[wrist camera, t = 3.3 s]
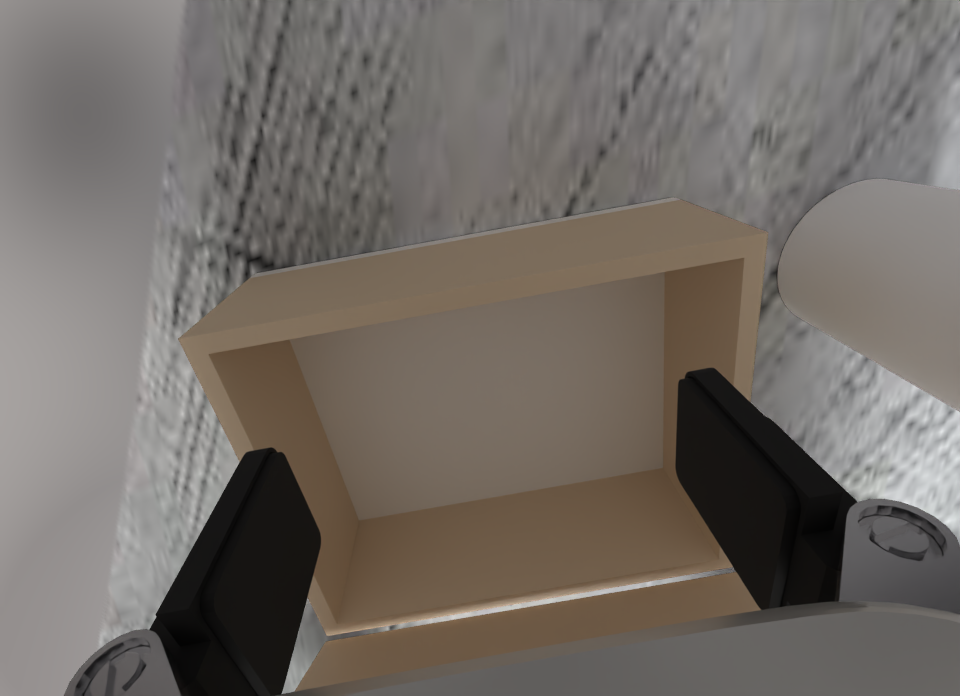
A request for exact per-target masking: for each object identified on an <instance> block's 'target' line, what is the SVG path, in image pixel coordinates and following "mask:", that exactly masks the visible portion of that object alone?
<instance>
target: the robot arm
mask: <svg viewBox="0 0 960 696" xmlns="http://www.w3.org/2000/svg"><path fill="white" fill-rule="evenodd" d="M675 469H676V474H677V477H678V480H679V482H680V484H681V485H682V487H683V488H684V490H685V491H686V493H687V495H688V496H689V498H690V499H691V501H692V503H693V504H694V506H695V507H696V509H697V510H698V512H699V514H700V515H701V517H702V518H703V520H704V522H705V523H706V525H707V526H708V528H709V529H710V531H711V533H712V534H713V536H714V537H715V539H716V541H717V542H718V544H719V545H720V547H721V548H722V550H723V552H724V553H725V555H726V556H727V558H728V560H729V561H730V563H731V564H732V566H733V567H734V569H735V571H736V572H737V574H738V575H739V577H740V578H741V580H742V582H743V583H744V585H745V586H746V588H747V590H748V591H749V593H750V594H751V596H752V597H753V599H754V601H755V602H756V604H757V605H758V607H759V608H760V609H761V610H758V611H752V612H745V613H739V614H732V615H726V616H719V617H713V618H706V619H700V620H694V621H689V622H683V623H677V624H671V625H665V626H659V627H654V628H648V629H642V630H636V631H630V632H624V633H619V634H613V635H607V636H601V637H595V638H589V639H584V640H578V641H572V642H566V643H561V644H555V645H549V646H544V647H538V648H532V649H527V650H521V651H515V652H510V653H504V654H498V655H493V656H487V657H482V658H476V659H470V660H465V661H459V662H454V663H448V664H442V665H437V666H431V667H426V668H420V669H415V670H409V671H404V672H398V673H393V674H387V675H382V676H376V677H371V678H366V679H360V680H355V681H349V682H344V683H338V684H333V685H327V686H322V687H316V688H311V689H306V690H301V691H296V692H291V693H286V694H281V693H282V691H283V687H284V684H285V680H286V676H287V672H288V669H289V665H290V661H291V657H292V653H293V650H294V646H295V642H296V638H297V635H298V631H299V627H300V623H301V620H302V616H303V612H304V608H305V604H306V601H307V597H308V593H309V589H310V586H311V582H312V578H313V574H314V570H315V567H316V563H317V559H318V555H319V552H320V548H321V534H320V531H319V528H318V526H317V524H316V522H315V519H314V517H313V515H312V513H311V511H310V508H309V506H308V504H307V502H306V500H305V497H304V495H303V493H302V491H301V489H300V486H299V484H298V482H297V480H296V478H295V476H294V473H293V471H292V469H291V467H290V465H289V462H288V460H287V458H286V456H285V454H284V453H283V452H277V451H276V450H275V449H274V448H272V447H270V448H264V449H259V450H253V451H248V452H246V453H245V454H244V456H243V457H242V459H241V461H240V463H239V465H238V466H237V468H236V470H235V472H234V474H233V475H232V477H231V479H230V481H229V483H228V484H227V486H226V488H225V490H224V492H223V494H222V495H221V497H220V499H219V501H218V503H217V504H216V506H215V508H214V510H213V512H212V513H211V515H210V517H209V519H208V521H207V523H206V524H205V526H204V528H203V530H202V532H201V533H200V535H199V537H198V539H197V541H196V542H195V544H194V546H193V548H192V550H191V552H190V553H189V555H188V557H187V559H186V561H185V562H184V564H183V566H182V568H181V570H180V571H179V573H178V575H177V577H176V579H175V581H174V582H173V584H172V586H171V588H170V590H169V591H168V593H167V595H166V597H165V599H164V600H163V602H162V604H161V606H160V608H159V610H158V611H157V613H156V616H157V617H156V619H155V621H154V622H153V624H152V626H151V628H150V630H147V629H143V630H134V631H131V632H129V633H126V634H123V635H121V636H119V637H117V638H115V639H114V640H112V641H110V642H108V643H107V644H105V645H104V646H103V647H102V648H100V649H99V650H98V651H97V652H95V653H94V654H93V655H92V656H91V657H90V658H89V659H88V660H87V661H86V662H85V663H84V664H83V665H82V666H81V668H79V670H78V671H77V673H76V674H75V675H74V677H73V678H72V680H71V681H70V683H69V685H68V687H67V689H66V692H65V694H64V696H960V545H959V542H958V540H957V537H956V536H955V535H954V534H953V533H952V532H951V530H950V529H949V528H948V527H947V526H946V525H945V524H943V523H942V522H941V521H939V520H938V519H937V518H935V517H934V516H932V515H930V514H929V513H927V512H925V511H923V510H921V509H919V508H917V507H914V506H911V505H908V504H905V503H902V502H899V501H893V500H887V499H867V500H863V501H860V502H857V501H856V500H855V499H854V498H853V497H852V496H851V495H850V494H849V493H848V492H847V491H845V490H844V489H843V488H842V487H841V486H840V485H839V484H838V483H837V482H836V481H835V480H834V479H833V478H832V477H831V476H830V475H829V474H828V473H827V472H826V471H825V470H824V469H822V468H821V467H820V466H819V465H818V464H817V463H816V462H815V461H814V460H813V459H812V458H811V457H810V456H809V455H808V454H807V453H806V452H805V451H804V450H803V449H802V448H801V447H799V446H798V445H797V444H796V443H795V442H794V441H793V440H792V439H791V438H790V437H789V436H788V435H787V434H786V433H785V432H784V431H783V430H782V429H781V428H780V427H779V426H778V425H777V424H775V423H774V422H773V421H772V420H771V419H769V418H767V417H765V416H764V415H763V414H762V413H761V412H760V411H759V410H758V409H757V408H756V407H755V406H754V405H753V404H752V403H751V402H749V401H748V400H747V399H746V398H745V397H744V396H743V395H742V394H741V393H740V392H739V391H738V390H737V389H736V388H735V387H734V386H733V385H732V384H731V383H730V382H729V381H728V380H727V379H726V378H725V377H724V376H723V375H722V374H721V373H719V372H718V371H717V370H716V369H715V368H705V369H700V370H694V371H689V372H687V373H686V375H685V379H680V380H679V382H678V401H677V430H676V460H675Z"/></svg>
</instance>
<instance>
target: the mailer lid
mask: <svg viewBox="0 0 960 696" xmlns="http://www.w3.org/2000/svg"><path fill="white" fill-rule="evenodd" d="M758 610H761V609H760V608H759V607H758V605H757V604H756V602H755V601H754V599H753V597H752V596H751V594H750V593H749V591H748V590H747V588H746V586H745V585H744V583H743V582H742V580H741V578H740V577H739V575H738V574H737V572H733V573H727V574H721V575H715V576H710V577H704V578H698V579H692V580H686V581H680V582H674V583H668V584H662V585H656V586H651V587H645V588H639V589H633V590H627V591H621V592H615V593H609V594H603V595H597V596H592V597H586V598H580V599H574V600H568V601H562V602H556V603H550V604H544V605H538V606H533V607H527V608H521V609H515V610H509V611H503V612H497V613H491V614H485V615H480V616H474V617H468V618H462V619H456V620H450V621H444V622H438V623H432V624H426V625H421V626H415V627H409V628H403V629H397V630H391V631H385V632H379V633H373V634H367V635H362V636H356V637H350V638H344V639H338V640H332V641H326V642H325V644H324V645H323V647H322V648H321V650H320V652H319V653H318V655H317V656H316V658H315V660H314V661H313V663H312V664H311V666H310V668H309V669H308V671H307V672H306V674H305V676H304V677H303V679H302V680H301V682H300V684H299V685H298V687H297V688H296V690H295V692H296V691H301V690H306V689H311V688H316V687H322V686H327V685H333V684H338V683H344V682H349V681H355V680H360V679H366V678H371V677H376V676H382V675H387V674H393V673H398V672H404V671H409V670H415V669H420V668H426V667H431V666H437V665H442V664H448V663H454V662H459V661H465V660H470V659H476V658H482V657H487V656H493V655H498V654H504V653H510V652H515V651H521V650H527V649H532V648H538V647H544V646H549V645H555V644H561V643H566V642H572V641H578V640H584V639H589V638H595V637H601V636H607V635H613V634H619V633H624V632H630V631H636V630H642V629H648V628H654V627H659V626H665V625H671V624H677V623H683V622H689V621H694V620H700V619H706V618H713V617H719V616H726V615H732V614H739V613H745V612H752V611H758Z"/></svg>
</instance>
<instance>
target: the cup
mask: <svg viewBox="0 0 960 696" xmlns="http://www.w3.org/2000/svg"><path fill="white" fill-rule="evenodd" d="M777 281H778V288H779V293H780V296H781V298H782V300H783V302H784V304H785V305H786V307H787V308H788V309H789V310H790V311H791V312H792V313H793V314H794V315H795V316H797V317H799V318H800V319H802V320H804V321H805V322H807V323H809V324H810V325H812V326H814V327H816V328H817V329H819V330H821V331H822V332H824V333H826V334H827V335H829V336H831V337H833V338H834V339H836V340H838V341H839V342H841V343H843V344H845V345H846V346H848V347H850V348H851V349H853V350H855V351H857V352H858V353H860V354H862V355H863V356H865V357H867V358H869V359H870V360H872V361H874V362H875V363H877V364H879V365H881V366H882V367H884V368H886V369H887V370H889V371H891V372H892V373H894V374H896V375H898V376H899V377H901V378H903V379H904V380H906V381H908V382H910V383H911V384H913V385H915V386H916V387H918V388H920V389H922V390H923V391H925V392H927V393H928V394H930V395H932V396H934V397H935V398H937V399H939V400H940V401H942V402H944V403H946V404H947V405H949V406H951V407H952V408H954V409H956V410H957V411H959V412H960V190H954V189H948V188H941V187H935V186H928V185H922V184H915V183H909V182H902V181H896V180H889V179H869V180H863V181H859V182H855V183H852V184H850V185H847V186H845V187H843V188H840V189H838V190H837V191H835V192H833V193H831V194H830V195H828V196H827V197H825V198H824V199H822V200H821V201H820V202H819V203H817V204H816V205H815V206H814V207H813V208H812V209H810V210H809V211H808V213H807V214H806V215H805V216H804V217H803V218H802V219H801V220H800V222H799V223H798V224H797V225H796V227H795V228H794V230H793V231H792V233H791V234H790V236H789V238H788V240H787V242H786V244H785V246H784V248H783V251H782V254H781V257H780V261H779V265H778V274H777Z"/></svg>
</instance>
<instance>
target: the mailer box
mask: <svg viewBox="0 0 960 696" xmlns="http://www.w3.org/2000/svg"><path fill="white" fill-rule="evenodd" d="M767 240H768V232H766V231H763V230H761V229H758V228H755V227H753V226H750V225H747V224H745V223H742V222H739V221H737V220H734V219H731V218H729V217H726V216H723V215H721V214H718V213H715V212H713V211H710V210H707V209H705V208H702V207H699V206H697V205H694V204H691V203H689V202H686V201H683V200H681V199H678V198H675V197H672V198H666V199H661V200H655V201H650V202H644V203H639V204H634V205H628V206H623V207H617V208H612V209H606V210H601V211H595V212H590V213H584V214H579V215H573V216H568V217H562V218H557V219H551V220H546V221H540V222H535V223H529V224H524V225H518V226H513V227H507V228H502V229H496V230H491V231H485V232H480V233H474V234H469V235H463V236H458V237H452V238H447V239H441V240H436V241H431V242H425V243H420V244H414V245H409V246H403V247H398V248H392V249H387V250H381V251H376V252H370V253H365V254H359V255H354V256H348V257H343V258H337V259H332V260H326V261H321V262H315V263H310V264H304V265H299V266H293V267H288V268H282V269H277V270H271V271H266V272H260V273H255V274H254V275H253V276H251V277H250V278H249V279H248V280H247V281H246V282H244V283H243V284H242V285H241V286H240V287H238V288H237V289H236V290H235V291H234V292H233V293H231V294H230V295H229V296H228V297H227V298H226V299H224V300H223V301H222V302H221V303H220V304H219V305H217V306H216V307H215V308H214V309H213V310H212V311H210V312H209V313H208V314H207V315H206V316H204V317H203V318H202V319H201V320H200V321H199V322H197V323H196V324H195V325H194V326H193V327H192V328H190V329H189V330H188V331H187V332H186V333H185V334H183V335H182V336H181V337H180V338H179V339H178V340H179V342H180V344H181V346H182V348H183V350H184V352H185V354H186V356H187V358H188V360H189V362H190V364H191V366H192V368H193V370H194V372H195V374H196V376H197V378H198V380H199V382H200V384H201V386H202V388H203V390H204V392H205V394H206V396H207V398H208V399H209V401H210V403H211V405H212V407H213V409H214V411H215V413H216V415H217V417H218V419H219V421H220V423H221V425H222V427H223V429H224V431H225V433H226V435H227V437H228V439H229V441H230V443H231V445H232V447H233V449H234V451H235V453H236V455H237V457H238V459H239V461H241V459H242V457H243V456H244V454H245V453H246V452H248V451H253V450H259V449H264V448H270V447H272V448H274V449H275V450H276V451H277V452H283V453H284V454H285V456H286V458H287V460H288V462H289V465H290V467H291V469H292V471H293V473H294V476H295V478H296V480H297V482H298V484H299V486H300V489H301V491H302V493H303V495H304V497H305V500H306V502H307V504H308V506H309V508H310V511H311V513H312V515H313V517H314V519H315V522H316V524H317V526H318V528H319V531H320V534H321V548H320V552H319V555H318V559H317V563H316V567H315V570H314V574H313V578H312V582H311V586H310V589H309V593H308V599H309V601H310V603H311V605H312V607H313V609H314V611H315V613H316V615H317V617H318V619H319V621H320V623H321V625H322V627H323V629H324V631H325V633H326V635H327V636H330V635H336V634H342V633H348V632H354V631H360V630H366V629H372V628H377V627H383V626H389V625H395V624H401V623H407V622H413V621H419V620H425V619H430V618H436V617H442V616H448V615H454V614H460V613H466V612H472V611H478V610H483V609H489V608H495V607H501V606H507V605H513V604H519V603H525V602H531V601H536V600H542V599H548V598H554V597H560V596H566V595H572V594H578V593H584V592H589V591H595V590H601V589H607V588H613V587H619V586H625V585H631V584H637V583H643V582H648V581H654V580H660V579H666V578H672V577H678V576H684V575H690V574H696V573H701V572H707V571H713V570H719V569H725V568H731V567H733V566H732V564H731V563H730V561H729V560H728V558H727V556H726V555H725V553H724V552H723V550H722V548H721V547H720V545H719V544H718V542H717V541H716V539H715V537H714V536H713V534H712V533H711V531H710V529H709V528H708V526H707V525H706V523H705V522H704V520H703V518H702V517H701V515H700V514H699V512H698V510H697V509H696V507H695V506H694V504H693V503H692V501H691V499H690V498H689V496H688V495H687V493H686V491H685V490H684V488H683V487H682V485H681V484H680V482H679V480H678V477H677V474H676V469H675V460H676V430H677V401H678V382H679V380H680V379H685V375H686V373H687V372H689V371H694V370H700V369H705V368H715V369H716V370H717V371H718V372H719V373H721V374H722V375H723V376H724V377H725V378H726V379H727V380H728V381H729V382H730V383H731V384H732V385H733V386H734V387H735V388H736V389H737V390H738V391H739V392H740V393H741V394H742V395H743V396H744V397H745V398H746V399H747V400H748V401H749V402H750V401H751V391H752V382H753V372H754V363H755V353H756V344H757V334H758V325H759V315H760V306H761V297H762V287H763V278H764V268H765V259H766V249H767Z"/></svg>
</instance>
